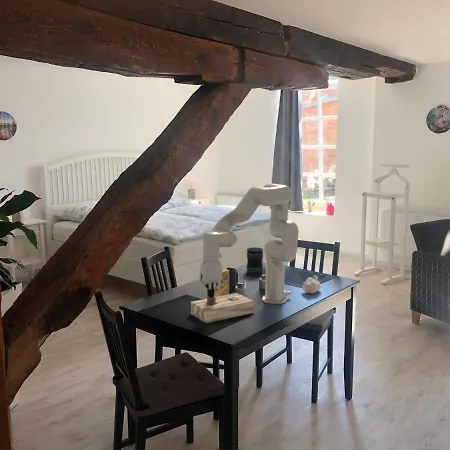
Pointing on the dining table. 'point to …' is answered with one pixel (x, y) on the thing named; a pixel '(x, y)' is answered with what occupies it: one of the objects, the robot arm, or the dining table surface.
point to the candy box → (223, 284)
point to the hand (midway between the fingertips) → (210, 296)
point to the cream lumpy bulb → (311, 285)
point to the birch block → (222, 308)
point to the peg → (211, 301)
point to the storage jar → (254, 261)
